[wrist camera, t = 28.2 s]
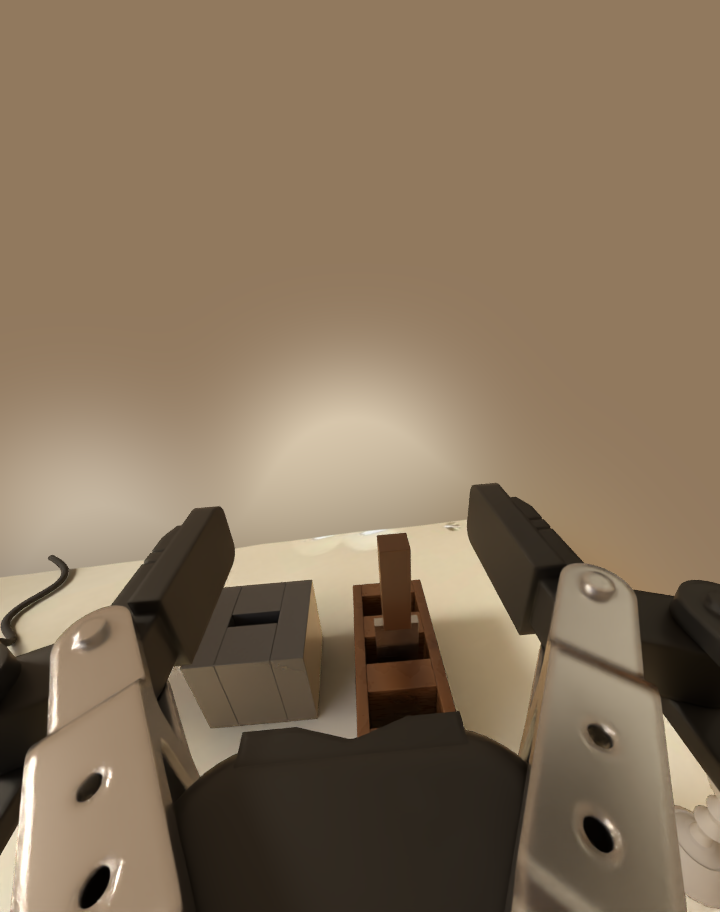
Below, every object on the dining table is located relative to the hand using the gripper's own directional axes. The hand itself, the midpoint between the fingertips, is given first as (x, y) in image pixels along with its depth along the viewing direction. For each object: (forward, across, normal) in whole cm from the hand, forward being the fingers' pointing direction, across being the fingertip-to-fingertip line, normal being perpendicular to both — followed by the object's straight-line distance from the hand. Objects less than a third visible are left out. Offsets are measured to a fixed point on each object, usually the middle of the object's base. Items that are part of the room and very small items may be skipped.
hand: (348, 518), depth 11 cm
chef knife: (+11, -3, +32) cm, 34 cm away
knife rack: (+11, -3, +32) cm, 34 cm away
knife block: (+14, +11, +32) cm, 37 cm away
